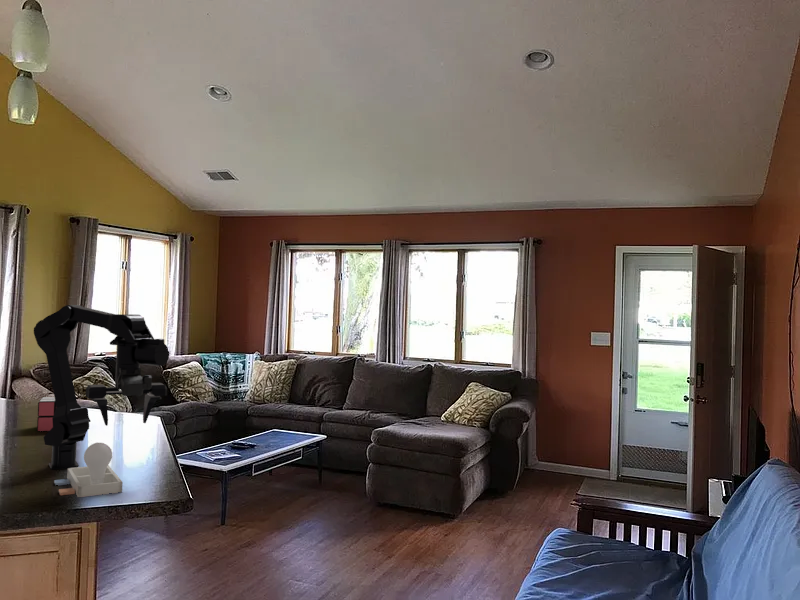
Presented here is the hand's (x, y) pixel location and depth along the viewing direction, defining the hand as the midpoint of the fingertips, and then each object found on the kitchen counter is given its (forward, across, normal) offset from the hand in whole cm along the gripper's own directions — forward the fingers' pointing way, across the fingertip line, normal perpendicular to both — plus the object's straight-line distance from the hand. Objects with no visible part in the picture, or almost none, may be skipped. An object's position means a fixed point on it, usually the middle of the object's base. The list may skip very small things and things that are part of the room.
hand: (125, 424), depth 170 cm
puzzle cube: (+13, -8, +69) cm, 71 cm away
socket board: (+13, -10, -6) cm, 17 cm away
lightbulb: (+13, -8, -11) cm, 19 cm away
